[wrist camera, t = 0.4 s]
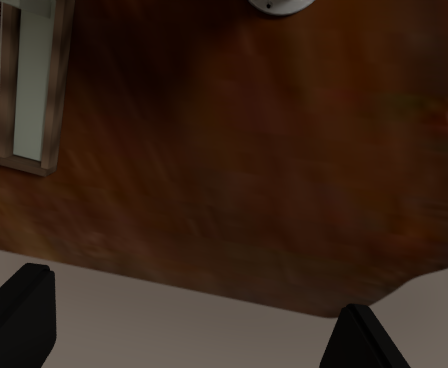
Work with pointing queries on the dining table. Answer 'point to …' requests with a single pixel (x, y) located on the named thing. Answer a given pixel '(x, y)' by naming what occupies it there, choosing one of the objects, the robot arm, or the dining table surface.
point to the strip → (32, 74)
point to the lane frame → (7, 88)
